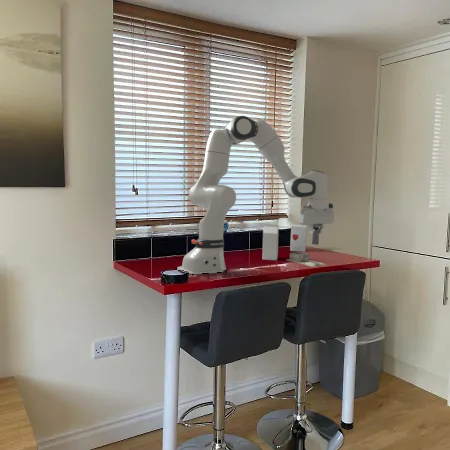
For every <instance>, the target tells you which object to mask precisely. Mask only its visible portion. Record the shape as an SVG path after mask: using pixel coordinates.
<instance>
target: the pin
mask: <svg viewBox="0 0 450 450" xmlns="http://www.w3.org/2000/svg"><path fill="white" fill-rule="evenodd" d="M319 227H322V224H315V225H313V230H315V233H314V234H312V239H311V240H312V243H311V244H312V245H318V246H319V243H320V241H319V239H320V233H319Z"/></svg>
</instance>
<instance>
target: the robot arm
mask: <svg viewBox="0 0 450 450" xmlns="http://www.w3.org/2000/svg"><path fill="white" fill-rule="evenodd" d="M246 141H251V142H252V143H253V144H254V145H255V146H256V148H257V150H258V151H259V153H260V154H261V155H262V157H264V158H265V160H266V161H267V162H268V163H269V164H270V165H272V167H273V168H274V169H275V172H276V173H277V174H278V176H279V177H280V179H281V181H282V183H283V188H284V192H285V193H286V194H287V195H288V196H289V197H291V198H298V199H301V198H305V197H306V198H307V205H306V204H304V205H302V206H301V207H300V211H299V214H298V225H307V228H308V230H309V234H310V235H313V234H314V233H315V230H313V225H315V224H322V227H319V234H322V233H323V229H324V227H325V225H327V224H333V223H334V221H335V220H334V219H335V211H334V209H335V204H334V203H332V202H329V201H328V199H327V198H328V197H327V192H328V176H327V174H326V173H325V172H324V171H320V170H315V169H314V170H313V169H312V170H311V171H309V172H308V173H306V174H304V175H301V176H297V175H296V174H295V173H294V172H293V171H292V169H291V168H290V166H289V164H288V162H287V161H286V159H285V152H286V151H285V150H286V149H285V145H284V143H283V141H282V140H281V138H280V136H279V134H277V132H276V131H275V129H274V128H273V127H272V126H271V125H270V124H269V123H268V122H267V121H266V120H264V119H258V120H256V121H255V120H254V119H252V118H250V117H248V116H245V115H238V116H236V117H235V118H233V119H231V120H230V121H229V122H228V123H227V124H226V125H225V126H224V128H223V129H219V128H218V129H215V130H212V131H211V132H210V134H209V136H208V140H207V141H206V142H207V143H206V146H205V153H204V160H203V166H202V170H201V173H200V176H199V178H198V180H197V181H196V182H195V184H194V185H193V186H192V187H191V188H189V190H188V191H189V192H188V200H189V202H190V203H191V204H192V205H194V206H197V207H199V208H202V209H203V208H204V209H206V213H205V215H204V217H203V218H201V219H200V221H199V226H198V227H199V228H198V231H199V232H198V238H197V240H196V239H191V244H193V245H195V247H193V249H191V250H190V251H189V252H187V254H185V255H184V257H183V259H182V265H180V266H177V271H178V270H184V271H188V272H189V274H188V275H192V274H194V275H203V274H202V273H209V274H218V273H217V272H222V273H224V271H226V270H227V268H226V262H225V257H224V255H225V254H224V249H225V238H224V226H225V220H226V217H227V214H228V212H229V211H230V210H231V209H232V208H233V206H235V204H236V201H237V194H236V191H235V189H234V188H233V187H230V186H229V185H228V186H227V185H226V184H219V183H220V181H221V180H222V178H223V177H225V176H226V174H227V173H228V171H229V163H230V162H229V161H230V156H231V155H230V154H231V149H232V145H237V144H238V145H239V144H240V143H243V142H246Z"/></svg>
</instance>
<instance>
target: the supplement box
mask: <svg viewBox="0 0 450 450" xmlns="http://www.w3.org/2000/svg"><path fill="white" fill-rule="evenodd" d="M307 228H308V225H300V224H295V223H294V224H293V223H292V224H291V228H290V229H291V230H290V245H289V246H290V247H289V248H290V249H289V250H290V252H302V253H306V248H307V236H308V235H307V232H308V231H307V230H308V229H307Z"/></svg>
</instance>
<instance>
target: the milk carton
mask: <svg viewBox="0 0 450 450" xmlns="http://www.w3.org/2000/svg"><path fill="white" fill-rule="evenodd" d="M278 254H279V224H273V223H272V224H271V223H270V224H269V223H264V225H263V231H262V257H261V258H262V260H265V261H266V260H267V261H277V260H278V256H279V255H278Z"/></svg>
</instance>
